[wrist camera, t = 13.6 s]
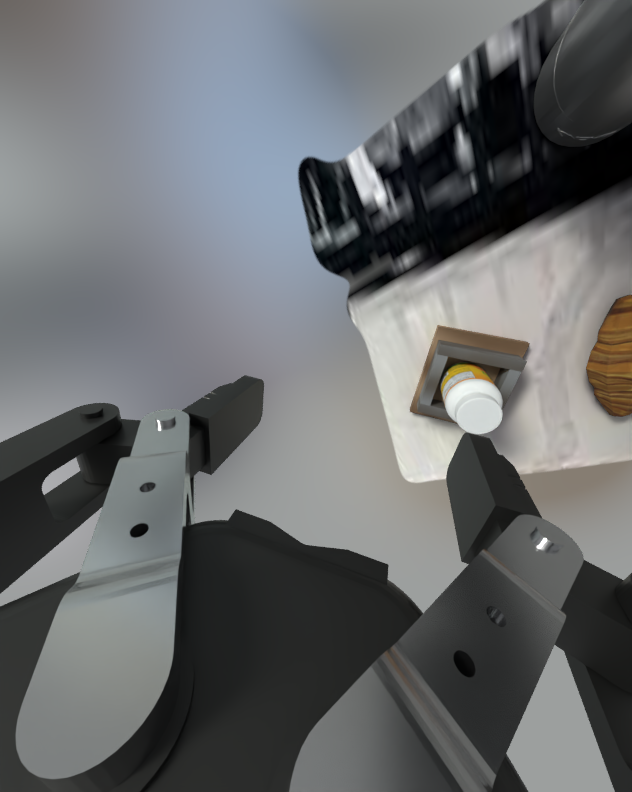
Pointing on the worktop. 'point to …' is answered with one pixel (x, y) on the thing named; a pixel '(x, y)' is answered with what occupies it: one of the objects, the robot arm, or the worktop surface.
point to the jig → (466, 346)
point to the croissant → (614, 360)
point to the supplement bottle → (471, 398)
